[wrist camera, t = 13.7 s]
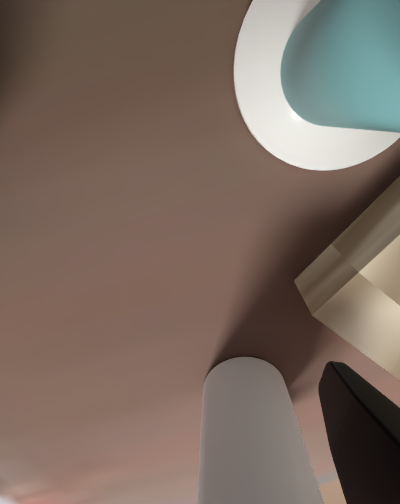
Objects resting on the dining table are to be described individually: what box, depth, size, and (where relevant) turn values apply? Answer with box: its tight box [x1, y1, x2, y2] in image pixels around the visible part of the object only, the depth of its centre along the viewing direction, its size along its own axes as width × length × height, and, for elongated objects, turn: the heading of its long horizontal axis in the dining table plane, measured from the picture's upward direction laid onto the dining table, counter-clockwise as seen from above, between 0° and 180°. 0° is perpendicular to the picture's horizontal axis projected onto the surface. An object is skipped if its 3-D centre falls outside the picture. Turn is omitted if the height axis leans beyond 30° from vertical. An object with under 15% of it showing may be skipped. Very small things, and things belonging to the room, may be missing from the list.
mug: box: [197, 357, 324, 504], centre depth 20 cm, size 10×7×12 cm, turn 17°
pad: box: [233, 0, 400, 170], centre depth 16 cm, size 10×10×1 cm
